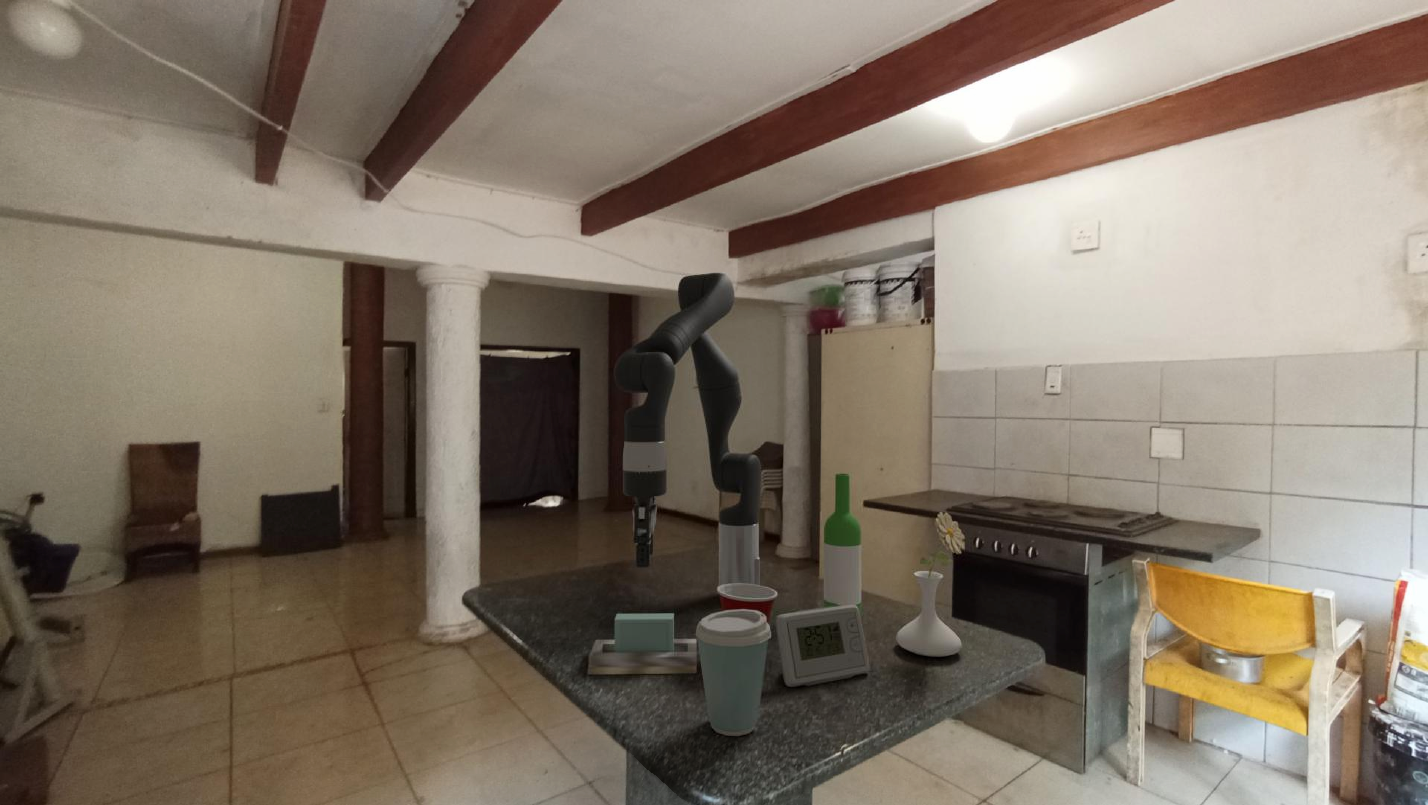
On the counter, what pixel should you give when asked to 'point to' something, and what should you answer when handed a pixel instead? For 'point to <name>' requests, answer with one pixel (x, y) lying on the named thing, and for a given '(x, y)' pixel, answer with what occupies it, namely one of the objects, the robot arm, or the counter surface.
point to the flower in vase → (933, 600)
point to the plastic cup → (747, 598)
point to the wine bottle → (842, 551)
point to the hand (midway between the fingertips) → (645, 560)
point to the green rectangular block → (644, 633)
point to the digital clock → (821, 645)
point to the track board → (643, 659)
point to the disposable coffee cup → (733, 667)
